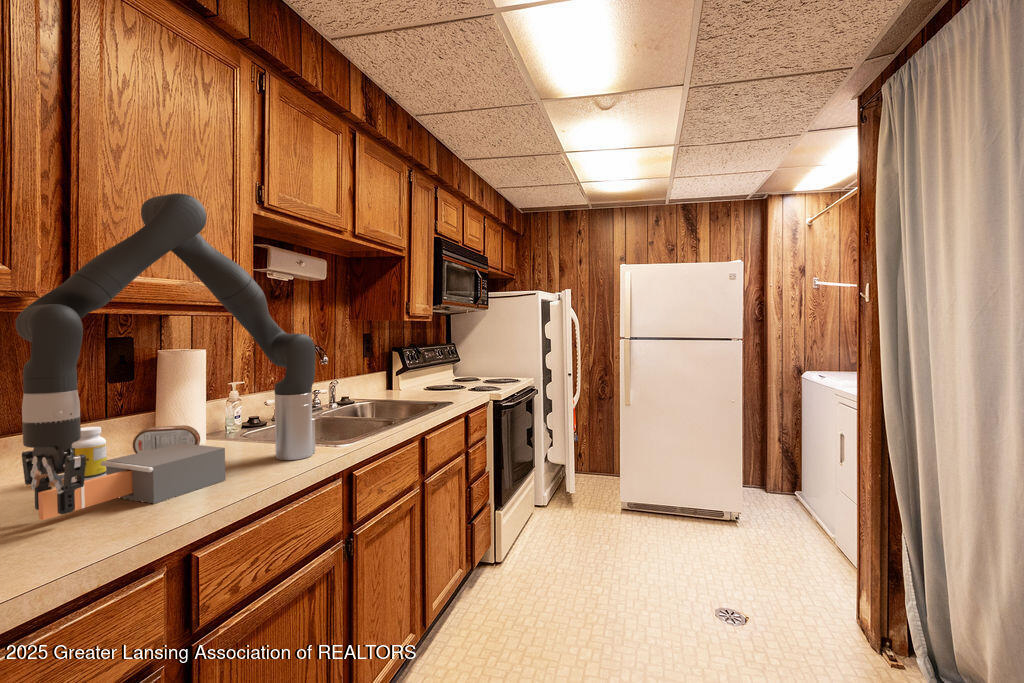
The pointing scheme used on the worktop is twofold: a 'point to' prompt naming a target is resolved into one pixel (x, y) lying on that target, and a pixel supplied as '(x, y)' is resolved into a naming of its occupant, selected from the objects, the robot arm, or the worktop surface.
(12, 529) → the worktop surface
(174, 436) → the tin
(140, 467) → the dispenser
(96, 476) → the pill bottle
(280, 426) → the robot arm
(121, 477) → the ticket
